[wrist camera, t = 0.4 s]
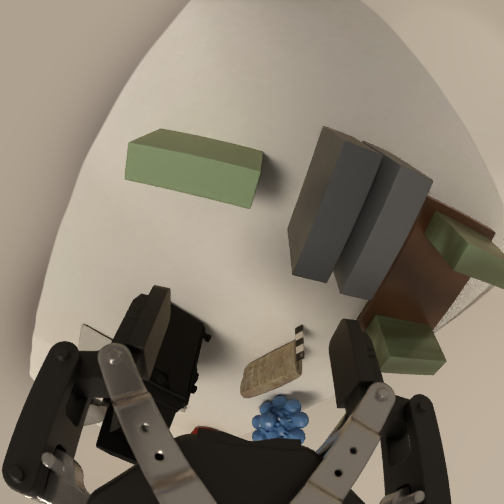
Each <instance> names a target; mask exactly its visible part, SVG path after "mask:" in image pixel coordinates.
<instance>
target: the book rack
mask: <svg viewBox="0 0 504 504" xmlns="http://www.w3.org/2000/svg"><path fill="white" fill-rule="evenodd" d="M494 235H495V232H494V231H493V230H492V229H490V228H489V227H487V226H485V225H483V224H482V223H480V222H478V221H476V220H474V219H473V218H471V217H469V216H467V215H465V214H463V213H462V212H460V211H458V210H456V209H454V208H452V207H450V206H448V205H446V204H444V203H442V202H440V201H438V200H436V199H434V198H432V197H430V196H428V195H427V196H426V199H425V201H424V203H423V205H422V207H421V209H420V212H419V214H418V216H417V218H416V220H415V222H414V224H413V226H412V228H411V230H410V232H409V234H408V236H407V238H406V240H405V241H404V243H403V245H402V247H401V249H400V251H399V253H398V255H397V256H396V258H395V260H394V262H393V264H392V265H391V267H390V269H389V271H388V272H387V274H386V276H385V278H384V279H383V281H382V283H381V284H380V286H379V288H378V289H377V291H376V293H375V294H374V296H373V297H372V299H371V300H369V301H368V302H367V304H366V306H365V307H364V309H363V310H362V312H361V313H360V315H359V317H358V318H357V320H358V321H359V323H360V327H361V330H362V332H366V333H367V334H368V336H369V337H370V338H371V340H372V342H373V346H374V351H375V353H376V358H377V360H378V363H379V367H380V370H381V372H384V373H398V374H416V375H417V374H418V375H434V374H435V373H436V372H437V371H438V370H439V369H440V368H441V367H442V366H443V365H444V363H445V362H446V359H445V357H444V354H443V352H442V350H441V348H440V346H439V343H438V341H437V339H436V337H435V335H434V333H433V331H432V330H433V329H434V328H435V326H436V325H437V324H438V323H439V321H440V320H441V319H442V317H443V316H444V315H445V313H446V312H447V310H448V309H449V308H450V306H451V305H452V304H453V302H454V301H455V299H456V298H457V296H458V295H459V293H460V292H461V290H462V289H463V287H464V286H465V284H466V283H467V281H468V280H469V278H470V277H473V278H476V279H478V280H481V281H484V282H486V283H489V284H492V285H494V286H497V287H500V288H502V289H504V253H503V252H502V251H501V250H500V249H499V248H498V247H497V246H496V245H495V244H494V243H493V242H492V239H493V237H494Z"/></svg>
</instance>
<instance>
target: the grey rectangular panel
mask: <svg viewBox="0 0 504 504" xmlns="http://www.w3.org/2000/svg"><path fill="white" fill-rule="evenodd" d="M111 342H112V340H110V339H108V338H106V337H105V336H103V335H101V334H99V333H98V332H96V331H94V330H93V329H91V328H89V327H87V326H86V325H82V326H81V332H80V340H79V349H78V350H79V351H98V350H100V349H101V348H102V347H104V346H105V345H107V344H110V343H111ZM185 410H186V409H185V408H182V409H180V411H183V412H185Z"/></svg>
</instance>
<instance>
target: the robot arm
mask: <svg viewBox="0 0 504 504" xmlns="http://www.w3.org/2000/svg"><path fill="white" fill-rule="evenodd" d="M170 295H171V291H170V288H166V287H161V286H157V285H154V286H153V287H152V289H151V291H150V293H149V295H145V294H140V295H139V296H138V297H137V298H135V299H134V300H133V301H132V303H131V305H130V307H129V310H128V311H127V313H126V315H125V317H124V319H123V321H122V323H121V324H120V326H119V328H118V330H117V332H116V334H115V336H114V338H113V340H112V342H111V343H110V344H107V345H105V346H104V347H102V348H101V349H100V350H98V351H79V350H78V348H77V347H76V346H75V345H74V344H73V343H71V342H67V341H63V342H59V343H57V344H55V345H54V346H53V347H52V348H51V349H50V351H49V353H48V355H47V357H46V359H45V361H44V363H43V365H42V367H41V369H40V371H39V373H38V375H37V377H36V379H35V382H34V384H33V386H32V388H31V390H30V393H29V395H28V397H27V400H26V402H25V404H24V407H23V409H22V412H21V414H20V417H19V419H18V422H17V424H16V427H15V430H14V433H13V435H12V438H11V441H10V444H9V447H8V450H7V453H6V456H5V459H4V463H3V467H2V473H3V477H4V480H5V482H6V483H7V484H8V486H9V487H10V488H11V489H13V490H15V491H16V492H19V493H21V494H23V495H24V496H26V497H28V498H30V499H33V500H36V501H38V502H41V503H45V504H365V503H364V502H363V501H362V500H361V499H360V498H359V497H358V496H357V495H356V494H355V493H354V491H352V489H351V487H352V486H353V485H354V483H355V482H356V480H357V478H358V477H359V475H360V474H361V472H362V470H363V469H364V467H365V466H366V464H367V462H368V460H369V459H370V457H371V455H372V454H373V452H374V450H375V448H376V446H377V444H378V442H379V441H381V450H382V460H383V470H384V483H385V484H384V485H385V497H384V498H383V499H382V500H381V502H380V504H451V496H450V489H449V481H448V475H447V468H446V462H445V457H444V451H443V447H442V442H441V437H440V432H439V428H438V423H437V419H436V415H435V411H434V407H433V404H432V402H431V401H430V399H429V398H428V397H426V396H424V395H421V394H417V395H415V396H413V397H412V398H411V399H410V400H409V399H406V398H403V397H400V396H397V395H395V393H394V391H393V389H392V388H391V387H390V386H389V385H387V384H386V383H384V381H383V378H382V374H381V370H380V367H379V363H378V360H377V358H376V353H375V351H374V346H373V342H372V340H371V338H370V337H369V336H368V334H367V333H366V332H362V330H361V327H360V323H359V321H358V320H351V319H342V320H341V321H340V323H339V325H338V327H337V329H336V331H335V333H334V334H333V336H332V338H331V340H330V344H329V356H330V362H331V369H332V375H333V382H334V389H335V396H336V404H337V408H345V409H346V413H345V414H344V416H343V417H342V418H341V420H340V421H339V423H338V424H337V426H336V427H335V428H334V430H333V431H332V433H331V434H330V435H329V437H328V438H327V439H326V441H325V442H324V443H323V444H322V445H321V447H320V448H319V449H318V450H317V451H316V452H315V451H314V450H311V449H310V448H308V447H305V446H302V445H301V439H288V438H272V439H266V440H258V441H247V440H244V439H242V438H239V437H236V436H233V435H231V434H228V433H225V432H221V431H215V430H209V429H203V428H198V432H197V433H192V434H185V435H181V436H178V437H176V438H173V436H172V434H171V432H170V430H169V429H168V427H167V425H166V423H165V421H164V419H163V417H162V415H161V413H160V411H159V410H158V408H157V406H156V404H155V402H154V400H153V398H152V396H151V394H150V393H149V392H148V391H147V389H146V387H145V385H144V383H143V381H142V379H143V380H147V381H149V379H150V376H151V373H152V370H153V367H154V364H155V361H156V358H157V355H158V352H159V349H160V346H161V344H162V341H163V338H164V335H165V332H166V330H167V327H168V324H169V320H170ZM92 397H95V398H111V401H112V404H113V407H114V410H115V412H116V415H117V418H118V420H119V422H120V425H121V427H122V430H123V432H124V434H125V436H126V439H127V441H128V443H129V445H130V447H131V450H132V452H133V454H134V456H135V458H136V460H137V462H138V463H137V464H135V465H134V466H132V467H131V468H129V469H128V470H127V471H125V472H123V473H122V474H120V475H119V476H117V477H115V478H114V479H112V480H111V481H109V482H107V483H106V484H104V485H103V486H101V487H99V488H98V489H96V490H95V491H94V492H93V493H92V494H91V495H90V494H89V493H88V491H87V490H86V488H85V486H84V482H83V476H84V475H83V470H82V468H81V466H80V465H79V464H78V463H77V462H76V461H75V460H74V456H75V453H76V449H77V445H78V442H79V438H80V435H81V431H82V428H83V425H84V422H85V419H86V416H87V412H88V409H89V406H90V403H91V400H92ZM408 436H409V437H408ZM409 442H410V443H409ZM410 448H411V450H410Z"/></svg>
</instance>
